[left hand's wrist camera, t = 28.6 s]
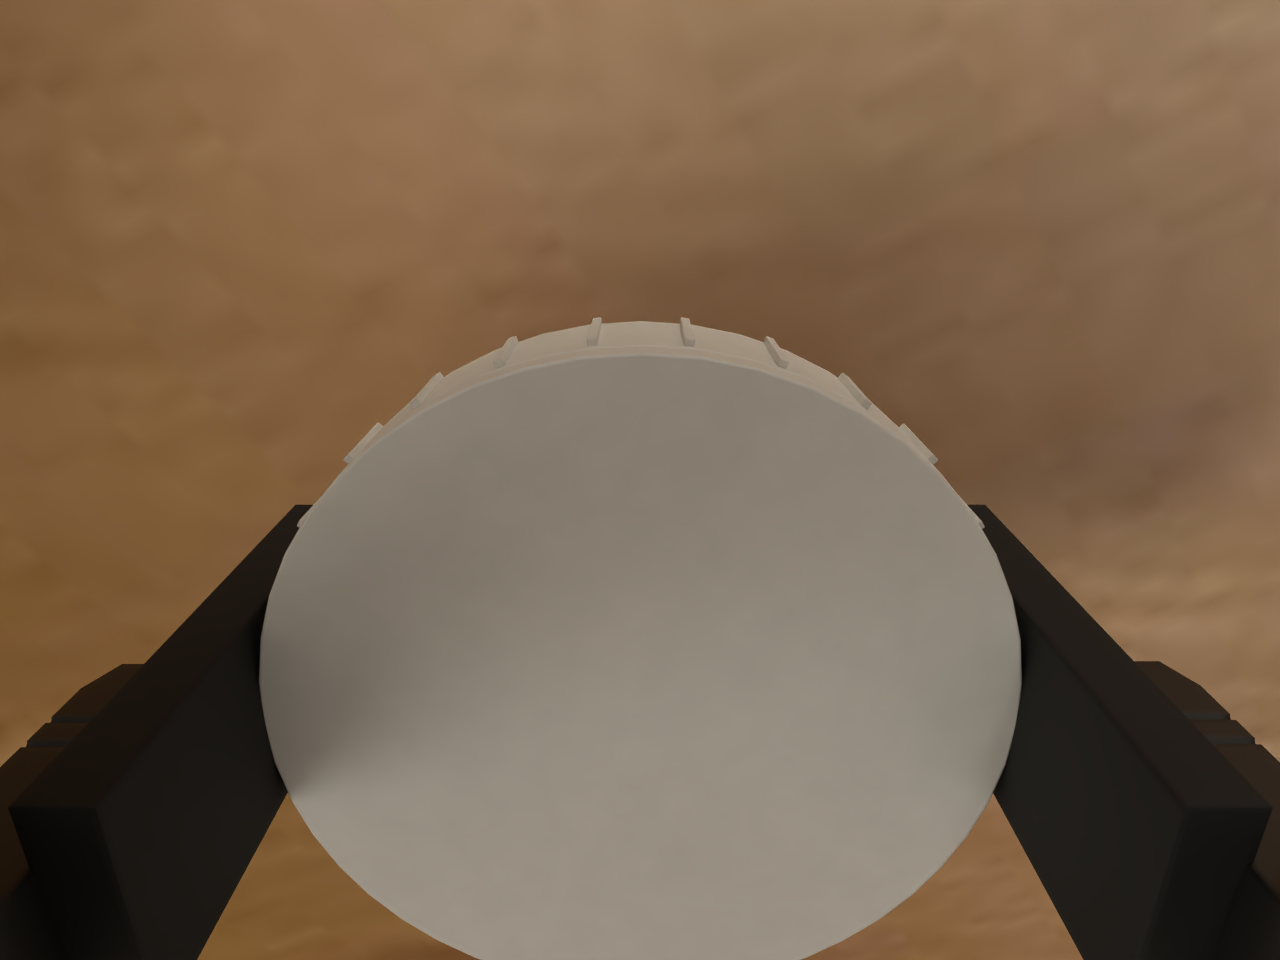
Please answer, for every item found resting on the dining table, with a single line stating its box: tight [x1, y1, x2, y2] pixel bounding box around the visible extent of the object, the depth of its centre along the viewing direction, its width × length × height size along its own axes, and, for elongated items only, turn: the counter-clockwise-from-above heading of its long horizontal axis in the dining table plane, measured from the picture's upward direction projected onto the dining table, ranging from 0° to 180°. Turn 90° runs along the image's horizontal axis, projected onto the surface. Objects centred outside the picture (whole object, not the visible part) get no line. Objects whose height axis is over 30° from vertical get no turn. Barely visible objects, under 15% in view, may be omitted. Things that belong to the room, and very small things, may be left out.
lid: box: [259, 317, 1022, 960], centre depth 11 cm, size 10×10×2 cm
